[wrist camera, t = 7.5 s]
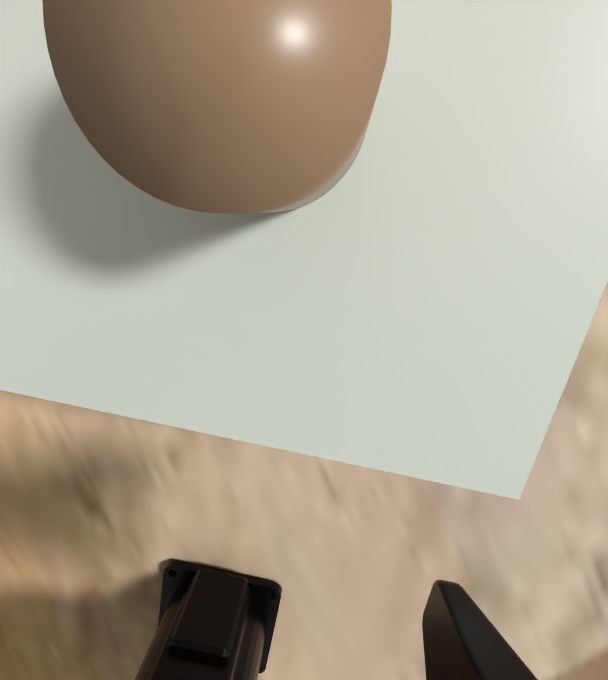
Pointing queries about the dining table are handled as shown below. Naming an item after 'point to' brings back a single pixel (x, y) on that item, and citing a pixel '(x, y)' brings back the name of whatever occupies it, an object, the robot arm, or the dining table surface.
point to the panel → (307, 220)
